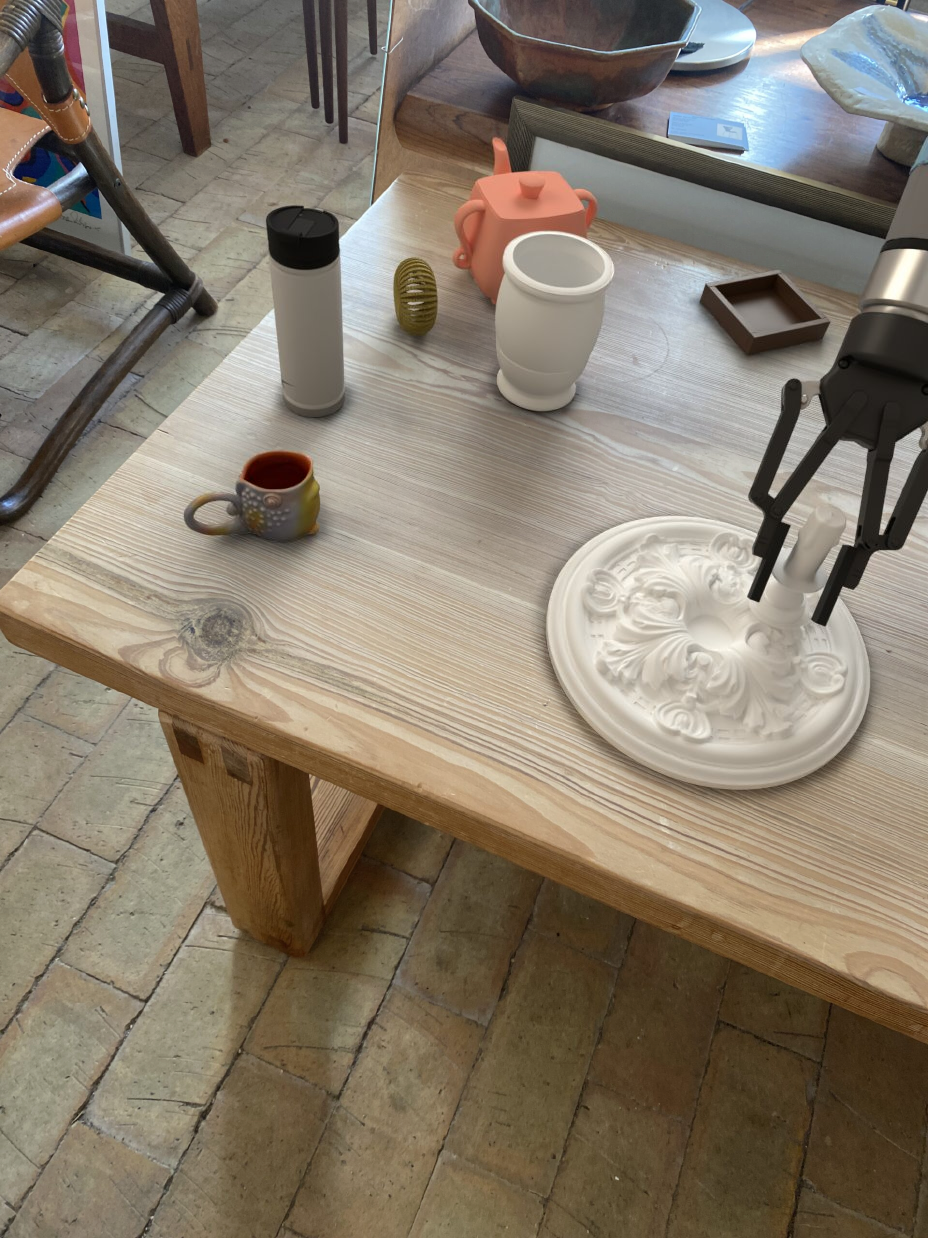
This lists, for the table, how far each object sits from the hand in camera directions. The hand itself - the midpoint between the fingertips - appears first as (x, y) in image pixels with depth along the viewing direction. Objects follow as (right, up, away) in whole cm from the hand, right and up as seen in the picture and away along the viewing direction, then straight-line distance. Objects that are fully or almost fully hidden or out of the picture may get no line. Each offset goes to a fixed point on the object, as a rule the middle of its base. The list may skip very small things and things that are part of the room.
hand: (785, 610), depth 73 cm
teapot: (-19, +39, +36) cm, 57 cm away
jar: (-18, +24, +25) cm, 39 cm away
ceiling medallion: (-5, -3, +6) cm, 8 cm away
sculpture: (-31, +32, +29) cm, 53 cm away
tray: (+9, +35, +35) cm, 50 cm away
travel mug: (-41, +22, +21) cm, 51 cm away
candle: (+1, 0, +5) cm, 6 cm away
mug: (-45, +8, +10) cm, 46 cm away
